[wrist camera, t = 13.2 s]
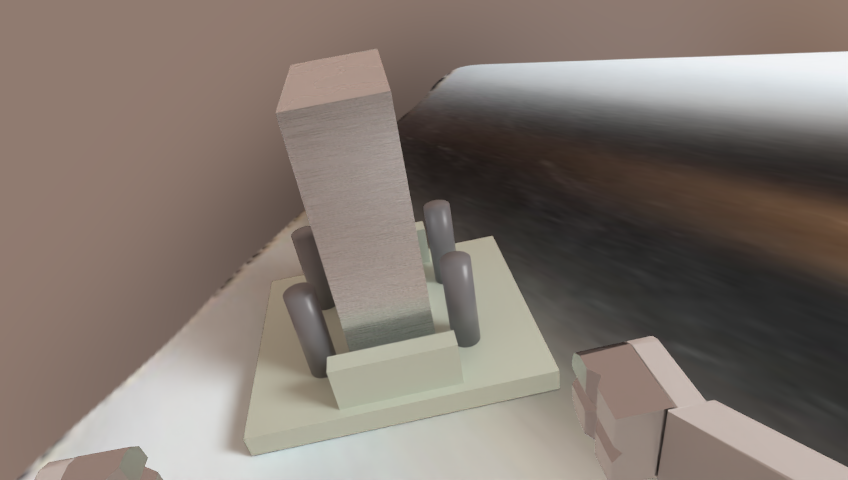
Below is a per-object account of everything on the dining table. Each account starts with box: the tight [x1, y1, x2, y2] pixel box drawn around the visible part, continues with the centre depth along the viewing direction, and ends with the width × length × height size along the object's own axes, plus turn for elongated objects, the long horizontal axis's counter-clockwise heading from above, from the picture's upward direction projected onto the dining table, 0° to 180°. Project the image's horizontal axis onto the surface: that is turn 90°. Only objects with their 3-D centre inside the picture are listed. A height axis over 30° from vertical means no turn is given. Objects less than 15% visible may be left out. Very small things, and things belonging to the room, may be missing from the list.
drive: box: [276, 49, 436, 352], centre depth 21 cm, size 3×6×11 cm, turn 8°
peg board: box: [243, 200, 560, 456], centre depth 23 cm, size 12×10×5 cm
